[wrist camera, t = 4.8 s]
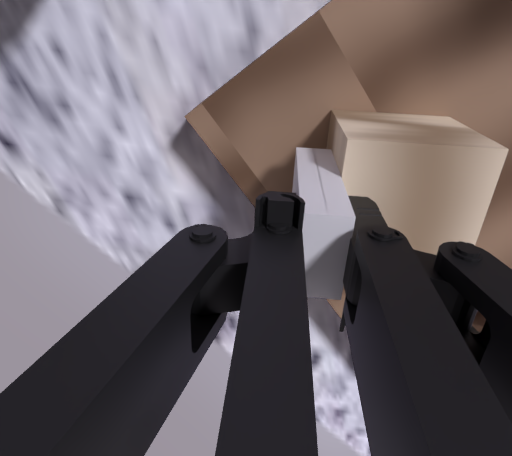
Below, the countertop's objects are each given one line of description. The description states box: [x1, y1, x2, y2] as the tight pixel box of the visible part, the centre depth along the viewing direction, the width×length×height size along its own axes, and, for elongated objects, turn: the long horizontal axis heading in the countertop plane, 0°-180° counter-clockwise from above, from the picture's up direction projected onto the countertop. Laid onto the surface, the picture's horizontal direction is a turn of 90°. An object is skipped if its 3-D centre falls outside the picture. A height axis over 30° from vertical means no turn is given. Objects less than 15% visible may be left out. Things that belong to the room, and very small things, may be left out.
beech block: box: [326, 110, 509, 255], centre depth 16 cm, size 5×5×5 cm
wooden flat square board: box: [185, 0, 512, 332], centre depth 19 cm, size 20×20×2 cm
